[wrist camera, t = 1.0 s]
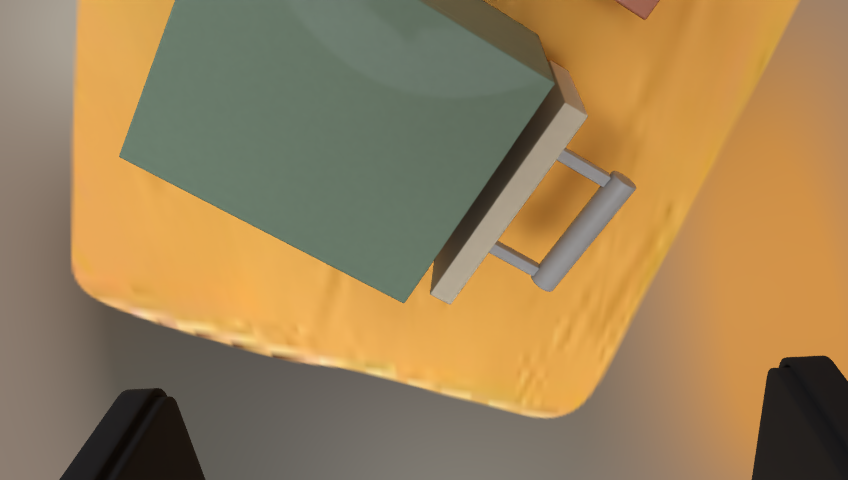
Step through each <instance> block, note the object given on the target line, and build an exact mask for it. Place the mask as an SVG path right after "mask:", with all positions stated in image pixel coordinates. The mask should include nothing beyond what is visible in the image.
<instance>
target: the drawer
mask: <svg viewBox="0 0 848 480" xmlns="http://www.w3.org/2000/svg"><path fill="white" fill-rule="evenodd" d="M548 65H549V67H550V70H551V73H552V76H553V79H554V82H555V85H554V86H553V88H552V89H551V90H550V92H549V93H548V95H547V96H546V98H545V99H544V101H543V102H542V104H541V105H540V106H539V108H538V109H537V111H536V112H535V114H534V115H533V117H532V118H531V120H530V121H529V123H528V124H527V125H526V127H525V128H524V130H523V131H522V133H521V134H520V136H519V137H518V139H517V140H516V141H515V143H514V144H513V146H512V147H511V149H510V150H509V152H508V153H507V155H506V156H505V157H504V159H503V160H502V162H501V163H500V165H499V166H498V168H497V169H496V171H495V172H494V174H493V175H492V176H491V178H490V179H489V181H488V182H487V184H486V185H485V187H484V188H483V190H482V191H481V192H480V194H479V195H478V197H477V198H476V200H475V201H474V203H473V204H472V206H471V207H470V208H469V210H468V211H467V213H466V214H465V216H464V217H463V219H462V220H461V222H460V223H459V225H458V226H457V227H456V229H455V230H454V232H453V233H452V235H451V236H450V238H449V239H448V241H447V242H446V243H445V245H444V246H443V248H442V249H441V251H440V252H439V254H438V255H437V257H436V258H435V259H434V266H433V274H432V282H431V290H430V294H431V295H432V296H434V297H436V298H438V299H440V300H442V301H444V302H446V303H448V304H451V303H452V302H453V300H454V299H455V298H456V296H457V295H458V294H459V292H460V291H461V290H462V288H463V287H464V285H465V284H466V283H467V281H468V280H469V279H470V277H471V276H472V275H473V273H474V272H475V270H476V269H477V268H478V266H479V265H480V264H481V262H482V261H483V259H484V258H485V257H486V255H487V254H488V253H491V254H493V255H495V256H496V257H498V258H500V259H502V260H504V261H506V262H507V263H509V264H511V265H513V266H515V267H517V268H518V269H520V270H522V271H524V272H526V273H528V274H529V275H531V278H532V280H533V281H534V283H535V284H536V285H537V286H538V287H540V288H541V289H543V290H545V291H549V292H550V291H553V290H554V288H555V287H556V286H557V285H558V283H559V282H560V281H561V280H562V279H563V277H564V276H565V275H566V274H567V272H568V271H569V270H570V269H571V268H572V266H573V265H574V264H575V263H576V261H577V260H578V259H579V258H580V257H581V255H582V254H583V253H584V252H585V250H586V249H587V248H588V247H589V246H590V244H591V243H592V242H593V241H594V239H595V238H596V237H597V236H598V235H599V233H600V232H601V231H602V230H603V228H604V227H605V226H606V225H607V224H608V222H609V221H610V220H611V219H612V217H613V216H614V215H615V214H616V213H617V211H618V210H619V209H620V208H621V207H622V205H623V204H624V203H625V202H626V200H627V199H628V198H629V197H630V196H631V194H632V193H633V192H634V191H635V189H636V186H635V184H634V183H633V182H632V181H631V180H630V179H629V178H627V177H626V176H624V175H623V174H621V173H619V172H617V171H612V172H611V174H610V175H609V173H608V172H606V171H604V170H603V169H601V168H599V167H598V166H596V165H594V164H593V163H591V162H589V161H588V160H586V159H584V158H582V157H581V156H579V155H577V154H576V153H574V152H572V151H571V150H569V149H567V148H566V146H567V145H568V143H569V142H570V141H571V139H572V138H573V136H574V135H575V134H576V132H577V131H578V130H579V128H580V127H581V125H582V124H583V123H584V121H585V120H586V119H587V117H588V115H587V113H586V110H585V108H584V106H583V103H582V101H581V99H580V97H579V94H578V92H577V90H576V87H575V85H574V83H573V81H572V78H571V76H570V74H569V72H568V71H567V70H566V69H564V68H562V67H561V66H559V65H558V64H556V63H554V62H553V61H551V60H549V62H548ZM556 160H558V161H560V162H561V163H563V164H565V165H566V166H568V167H570V168H571V169H573V170H575V171H577V172H578V173H580V174H582V175H583V176H585V177H587V178H588V179H590V180H592V181H594V182H595V183H597V184H599V185H600V188H599V189H598V190H597V191H596V193H595V194H594V195H593V197H592V198H591V199H590V200H589V202H588V203H587V204H586V205H585V207H584V208H583V209H582V211H581V212H580V213H579V214H578V216H577V217H576V218H575V219H574V221H573V222H572V223H571V224H570V226H569V227H568V228H567V230H566V231H565V232H564V233H563V235H562V236H561V237H560V238H559V240H558V241H557V242H556V244H555V245H554V246H553V247H552V249H551V250H550V251H549V252H548V254H547V255H546V256H545V258H544V259H543V260H542V261H541V263H540V264H538V263H537V262H535V261H534V260H532V259H530V258H528V257H526V256H525V255H523V254H521V253H519V252H517V251H515V250H514V249H512V248H510V247H508V246H506V245H505V244H503V243H501V242H499V241H497V240H498V239H499V238H500V236H501V235H502V233H503V232H504V231H505V229H506V228H507V227H508V225H509V224H510V223H511V221H512V220H513V218H514V217H515V216H516V214H517V213H518V212H519V210H520V209H521V208H522V206H523V205H524V203H525V202H526V201H527V199H528V198H529V197H530V195H531V194H532V192H533V191H534V190H535V188H536V187H537V186H538V184H539V183H540V182H541V180H542V179H543V177H544V176H545V175H546V173H547V172H548V171H549V169H550V168H551V167H552V165H553V164H554V162H555V161H556Z"/></svg>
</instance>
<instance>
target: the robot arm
mask: <svg viewBox="0 0 848 480" xmlns="http://www.w3.org/2000/svg"><path fill="white" fill-rule="evenodd" d="M60 480H205V477H204V475H203V472H202V469H201V467H200V464H199V461H198V459H197V456H196V453H195V451H194V448H193V445H192V443H191V440H190V437H189V434H188V432H187V429H186V426H185V424H184V421H183V418H182V416H181V413H180V410H179V408H178V405H177V402H176V401H175V399H174V398H173V397H167V395H166V393H165V392H164V391H163V390H162V389H159V388H154V389H132V390H125V391H123V392H122V393H121V394H120V395H119V396H118V397H117V399H116V400H115V402H114V403H113V405H112V406H111V407H110V409H109V410H108V412H107V413H106V414H105V416H104V417H103V419H102V420H101V422H100V423H99V425H98V426H97V427H96V429H95V430H94V432H93V433H92V434H91V436H90V437H89V439H88V440H87V441H86V443H85V444H84V446H83V447H82V448H81V450H80V451H79V453H78V454H77V456H76V457H75V459H74V460H73V461H72V463H71V464H70V466H69V467H68V468H67V470H66V471H65V473H64V474H63V475H62V477H61V478H60ZM752 480H848V381H847V380H846V378H845V377H844V376H843V374H842V373H841V372H840V370H839V369H838V368H837V366H836V365H835V364H834V362H833V361H832V360H831V359H830V358H828V357H826V356H808V357H787V358H783V359H782V361H781V362H780V365H779V368H771V369H770V370H769V371H768V375H767V380H766V388H765V394H764V401H763V407H762V415H761V421H760V428H759V434H758V441H757V449H756V455H755V462H754V469H753V475H752Z"/></svg>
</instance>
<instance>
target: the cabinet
mask: <svg viewBox="0 0 848 480" xmlns="http://www.w3.org/2000/svg"><path fill="white" fill-rule="evenodd" d="M554 85H555V82H554V79H553V76H552V73H551V70H550V67H549V65H548V62H547V59H546V56H545V53H544V50H543V47H542V45H541V42H540V39H539V36H538V35H537V34H536V33H534V32H532V31H531V30H529V29H528V28H526V27H524V26H523V25H521V24H520V23H518V22H516V21H515V20H513V19H512V18H510V17H508V16H507V15H505V14H504V13H502V12H500V11H499V10H497V9H496V8H494V7H492V6H491V5H489V4H488V3H486V2H484V1H483V0H175V2H174V5H173V8H172V11H171V14H170V16H169V19H168V22H167V25H166V27H165V30H164V33H163V36H162V39H161V41H160V44H159V47H158V50H157V52H156V55H155V58H154V61H153V64H152V66H151V69H150V72H149V75H148V77H147V80H146V83H145V86H144V89H143V91H142V94H141V97H140V100H139V102H138V105H137V108H136V111H135V114H134V116H133V119H132V122H131V125H130V127H129V130H128V133H127V136H126V139H125V141H124V144H123V147H122V150H121V152H120V155H119V157H120V158H122V159H124V160H126V161H128V162H130V163H132V164H134V165H136V166H138V167H140V168H142V169H144V170H146V171H148V172H150V173H152V174H153V175H155V176H157V177H159V178H161V179H163V180H165V181H167V182H169V183H171V184H173V185H175V186H177V187H179V188H181V189H183V190H185V191H186V192H188V193H190V194H192V195H194V196H196V197H198V198H200V199H202V200H204V201H206V202H208V203H210V204H212V205H214V206H216V207H218V208H219V209H221V210H223V211H225V212H227V213H229V214H231V215H233V216H235V217H237V218H239V219H241V220H243V221H245V222H247V223H249V224H251V225H253V226H254V227H256V228H258V229H260V230H262V231H264V232H266V233H268V234H270V235H272V236H274V237H276V238H278V239H280V240H282V241H284V242H286V243H287V244H289V245H291V246H293V247H295V248H297V249H299V250H301V251H303V252H305V253H307V254H309V255H311V256H313V257H315V258H317V259H319V260H320V261H322V262H324V263H326V264H328V265H330V266H332V267H334V268H336V269H338V270H340V271H342V272H344V273H346V274H348V275H350V276H352V277H354V278H355V279H357V280H359V281H361V282H363V283H365V284H367V285H369V286H371V287H373V288H375V289H377V290H379V291H381V292H383V293H385V294H387V295H388V296H390V297H392V298H394V299H396V300H398V301H400V302H402V303H405V302H406V300H407V299H408V297H409V296H410V294H411V293H412V292H413V290H414V289H415V287H416V286H417V284H418V283H419V281H420V280H421V278H422V277H423V276H424V274H425V273H426V271H427V270H428V268H429V267H430V265H431V264H432V262H433V261H434V259H435V258H436V257H437V255H438V254H439V252H440V251H441V249H442V248H443V246H444V245H445V243H446V242H447V241H448V239H449V238H450V236H451V235H452V233H453V232H454V230H455V229H456V227H457V226H458V225H459V223H460V222H461V220H462V219H463V217H464V216H465V214H466V213H467V211H468V210H469V208H470V207H471V206H472V204H473V203H474V201H475V200H476V198H477V197H478V195H479V194H480V192H481V191H482V190H483V188H484V187H485V185H486V184H487V182H488V181H489V179H490V178H491V176H492V175H493V174H494V172H495V171H496V169H497V168H498V166H499V165H500V163H501V162H502V160H503V159H504V157H505V156H506V155H507V153H508V152H509V150H510V149H511V147H512V146H513V144H514V143H515V141H516V140H517V139H518V137H519V136H520V134H521V133H522V131H523V130H524V128H525V127H526V125H527V124H528V123H529V121H530V120H531V118H532V117H533V115H534V114H535V112H536V111H537V109H538V108H539V106H540V105H541V104H542V102H543V101H544V99H545V98H546V96H547V95H548V93H549V92H550V90H551V89H552V88H553V86H554Z"/></svg>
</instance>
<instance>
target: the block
mask: <svg viewBox="0 0 848 480" xmlns="http://www.w3.org/2000/svg"><path fill="white" fill-rule="evenodd" d="M615 1H616V2H618V3H619V4H621V5H622V6H624V7H625V8H627V9H628V10H630V11H631V12H633V13H635V14H636V15H638V16H639V17H641V18H642V19H644V20H645V19H647V17H648V16H649V14H650V13H651V12H652V10H653V9H654V7H655V6H656V5H657V3H658V2H659V1H660V0H615Z"/></svg>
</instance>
